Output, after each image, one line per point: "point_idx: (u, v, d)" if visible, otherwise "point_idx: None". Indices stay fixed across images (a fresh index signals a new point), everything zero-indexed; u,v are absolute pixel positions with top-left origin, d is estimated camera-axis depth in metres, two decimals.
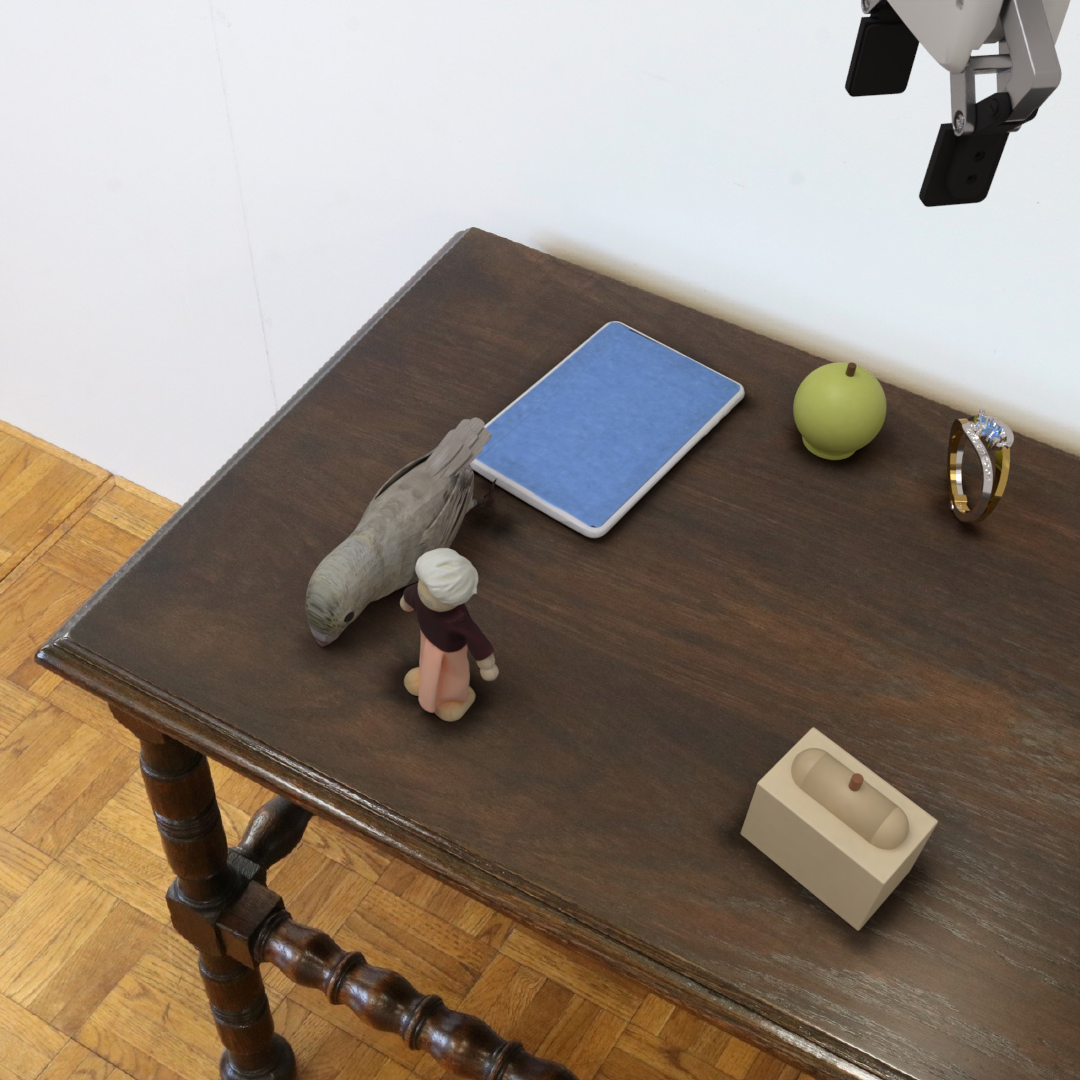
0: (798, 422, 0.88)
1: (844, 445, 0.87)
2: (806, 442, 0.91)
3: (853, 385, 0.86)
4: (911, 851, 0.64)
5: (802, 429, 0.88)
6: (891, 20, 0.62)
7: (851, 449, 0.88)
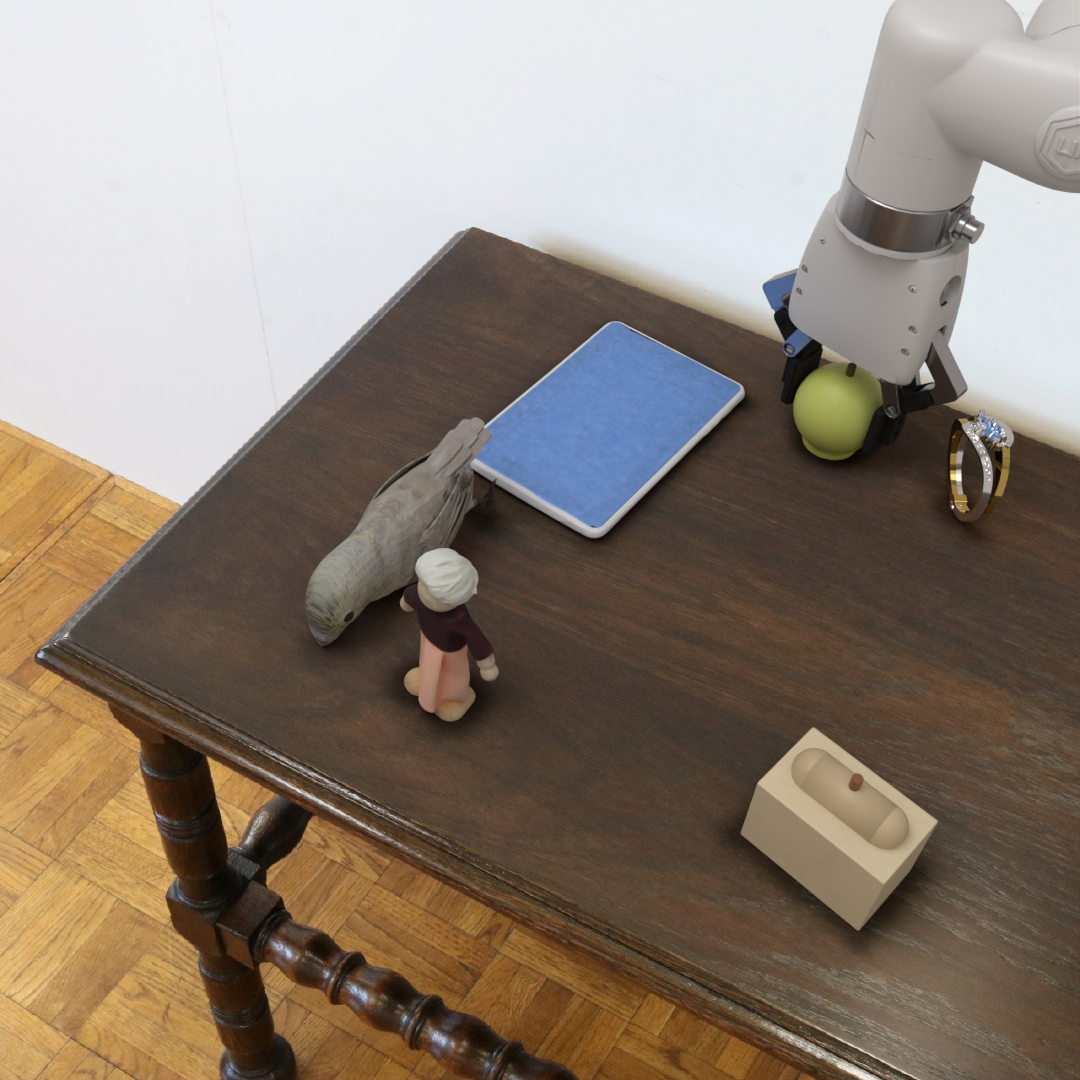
0: (798, 422, 0.88)
1: (844, 445, 0.87)
2: (806, 442, 0.91)
3: (853, 385, 0.86)
4: (911, 851, 0.64)
5: (802, 429, 0.88)
6: (807, 354, 0.88)
7: (851, 449, 0.88)
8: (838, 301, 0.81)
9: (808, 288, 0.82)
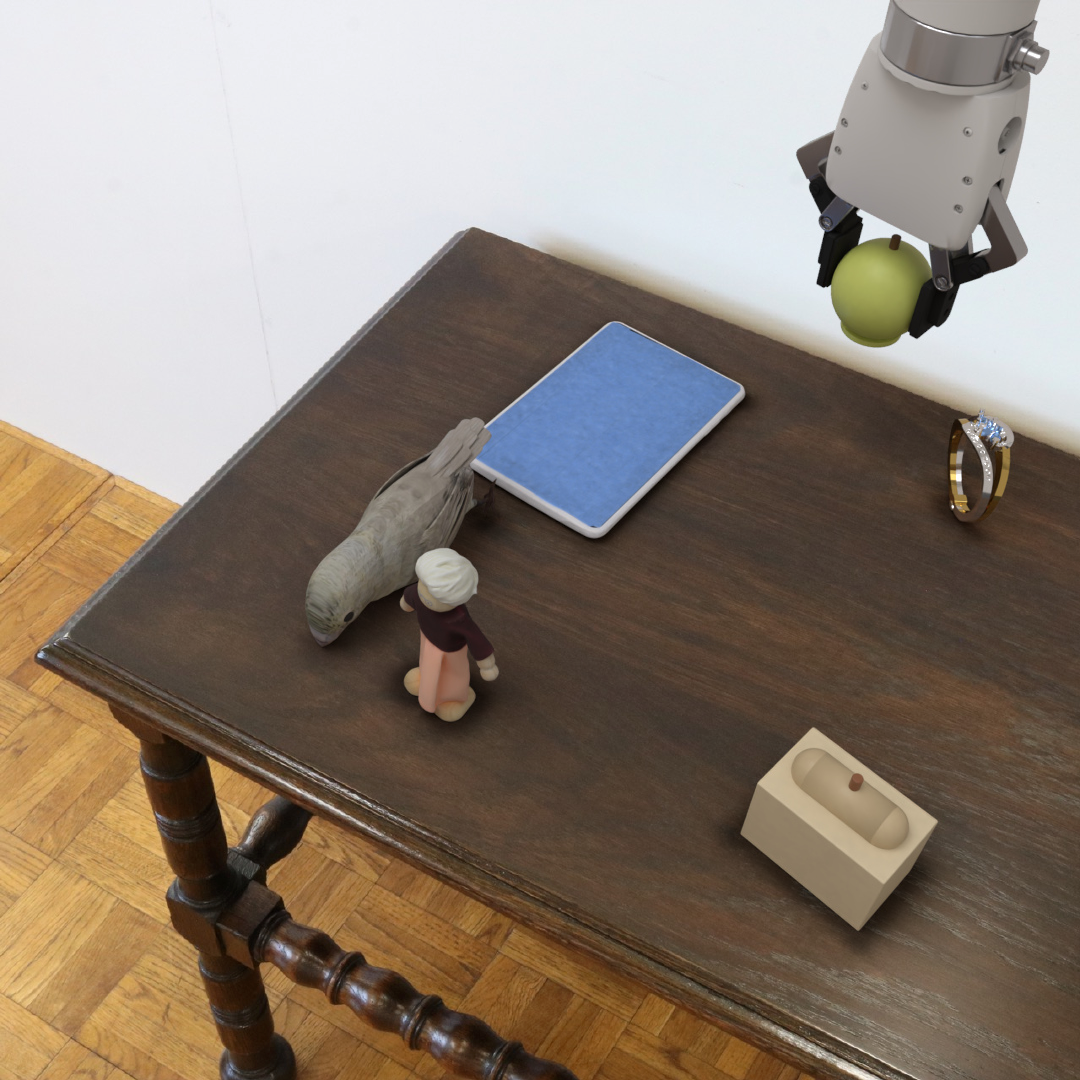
0: (836, 304, 0.80)
1: (888, 327, 0.79)
2: (845, 329, 0.82)
3: (897, 259, 0.78)
4: (911, 851, 0.64)
5: (842, 312, 0.80)
6: (846, 229, 0.80)
7: (896, 332, 0.80)
8: (882, 156, 0.72)
9: (848, 145, 0.74)
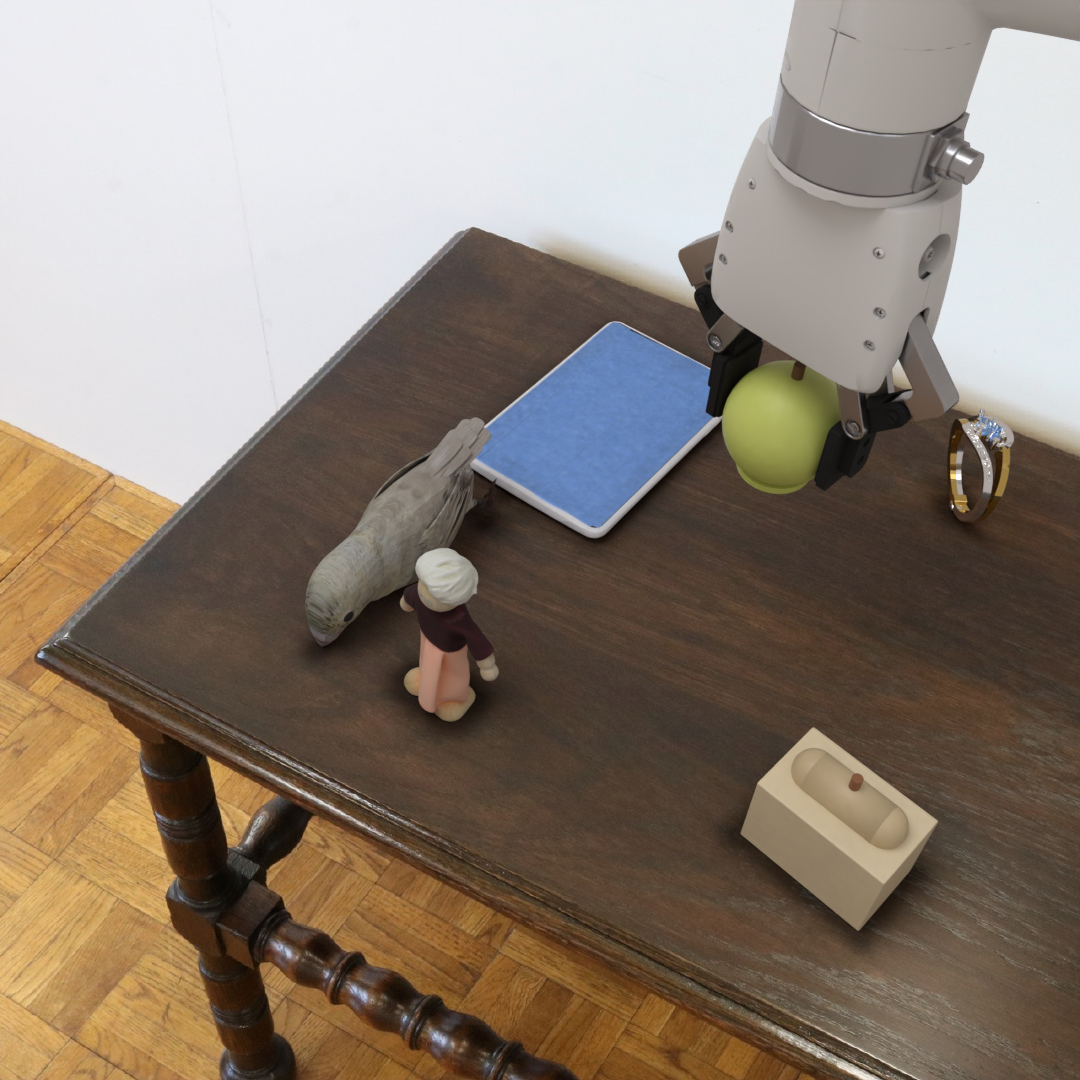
0: (727, 442, 0.64)
1: (789, 475, 0.63)
2: (741, 469, 0.66)
3: (801, 392, 0.62)
4: (911, 851, 0.64)
5: (733, 452, 0.64)
6: (741, 349, 0.64)
7: (800, 480, 0.64)
8: (775, 272, 0.56)
9: (735, 254, 0.58)
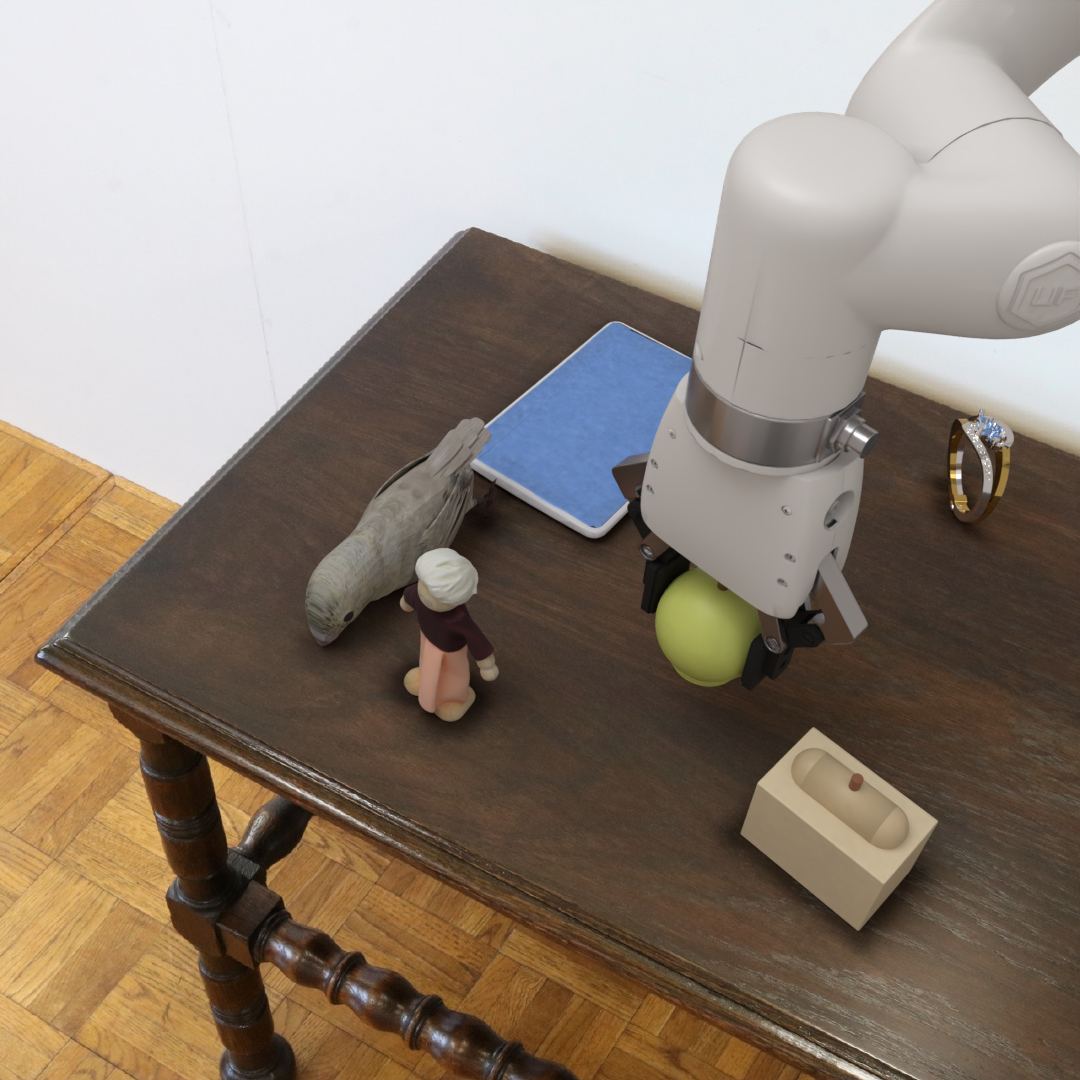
0: (660, 642, 0.69)
1: (717, 676, 0.67)
2: None
3: (726, 603, 0.66)
4: (911, 851, 0.64)
5: (665, 652, 0.68)
6: (671, 556, 0.68)
7: (727, 679, 0.68)
8: (696, 510, 0.61)
9: (660, 488, 0.62)
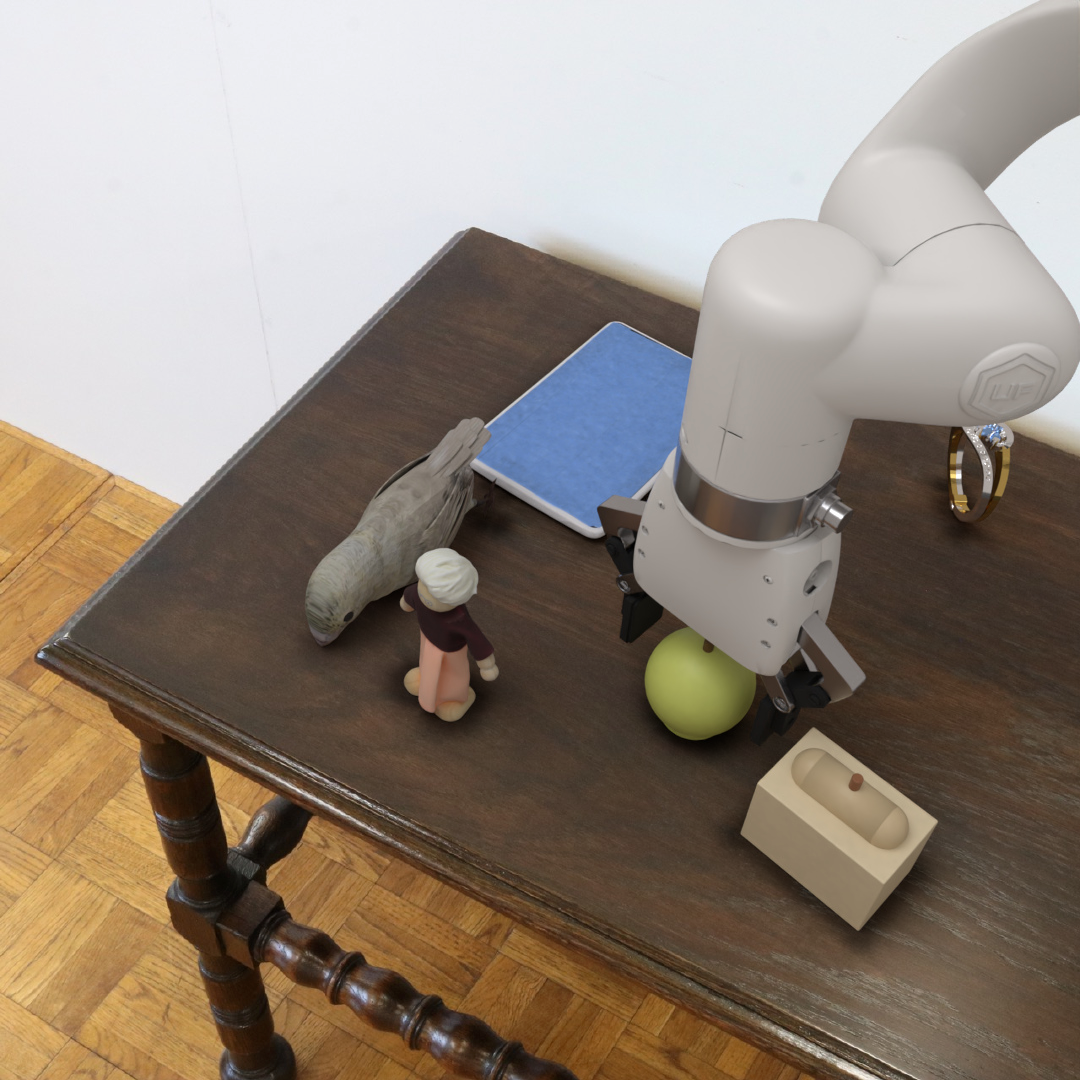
0: (649, 699, 0.73)
1: (702, 732, 0.71)
2: None
3: (711, 664, 0.70)
4: (911, 851, 0.64)
5: (654, 709, 0.72)
6: None
7: (712, 735, 0.72)
8: (685, 575, 0.64)
9: (651, 552, 0.66)
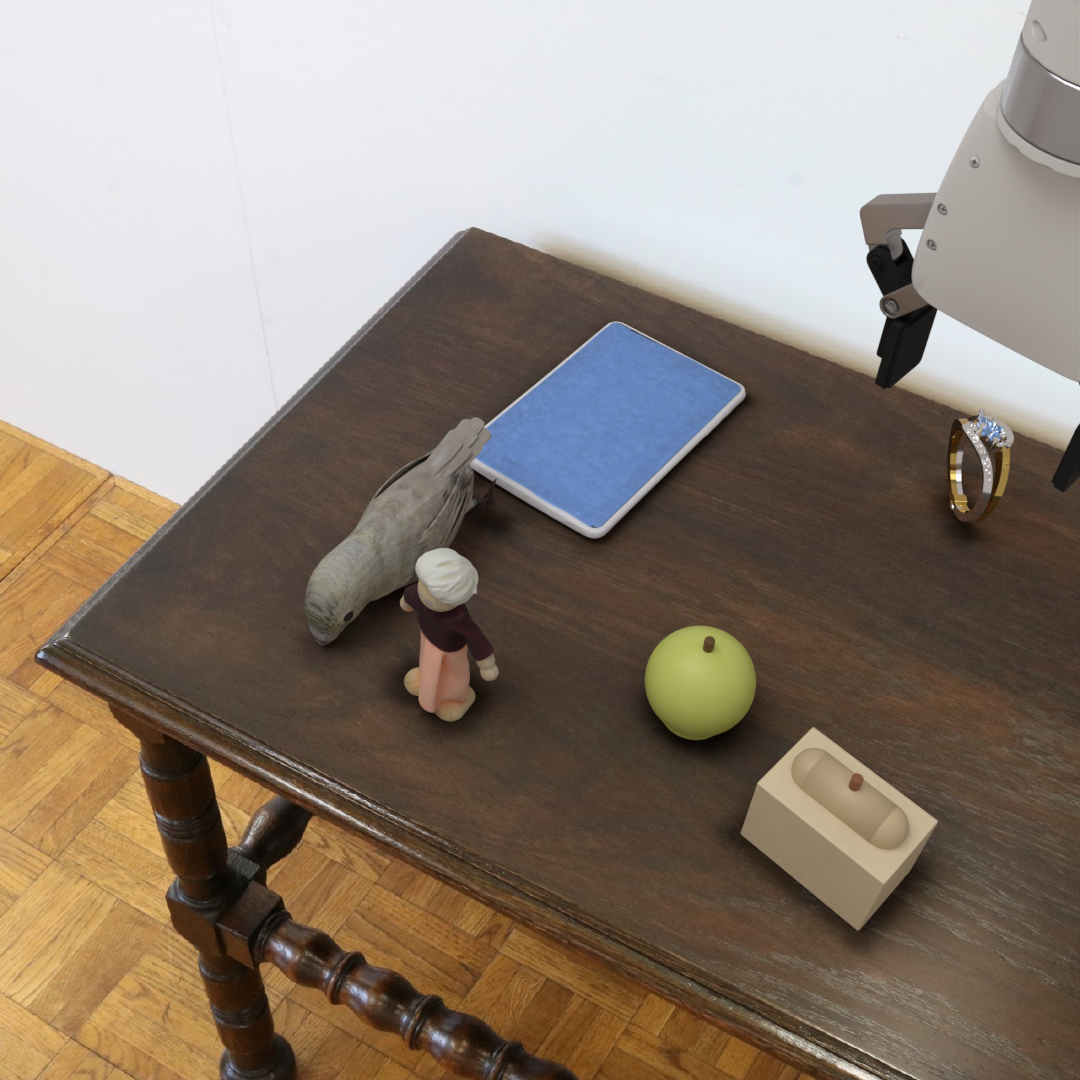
0: (649, 699, 0.73)
1: (702, 732, 0.71)
2: None
3: (711, 664, 0.70)
4: (911, 851, 0.64)
5: (654, 709, 0.72)
6: (917, 314, 0.60)
7: (712, 735, 0.72)
8: (997, 257, 0.52)
9: (947, 239, 0.54)
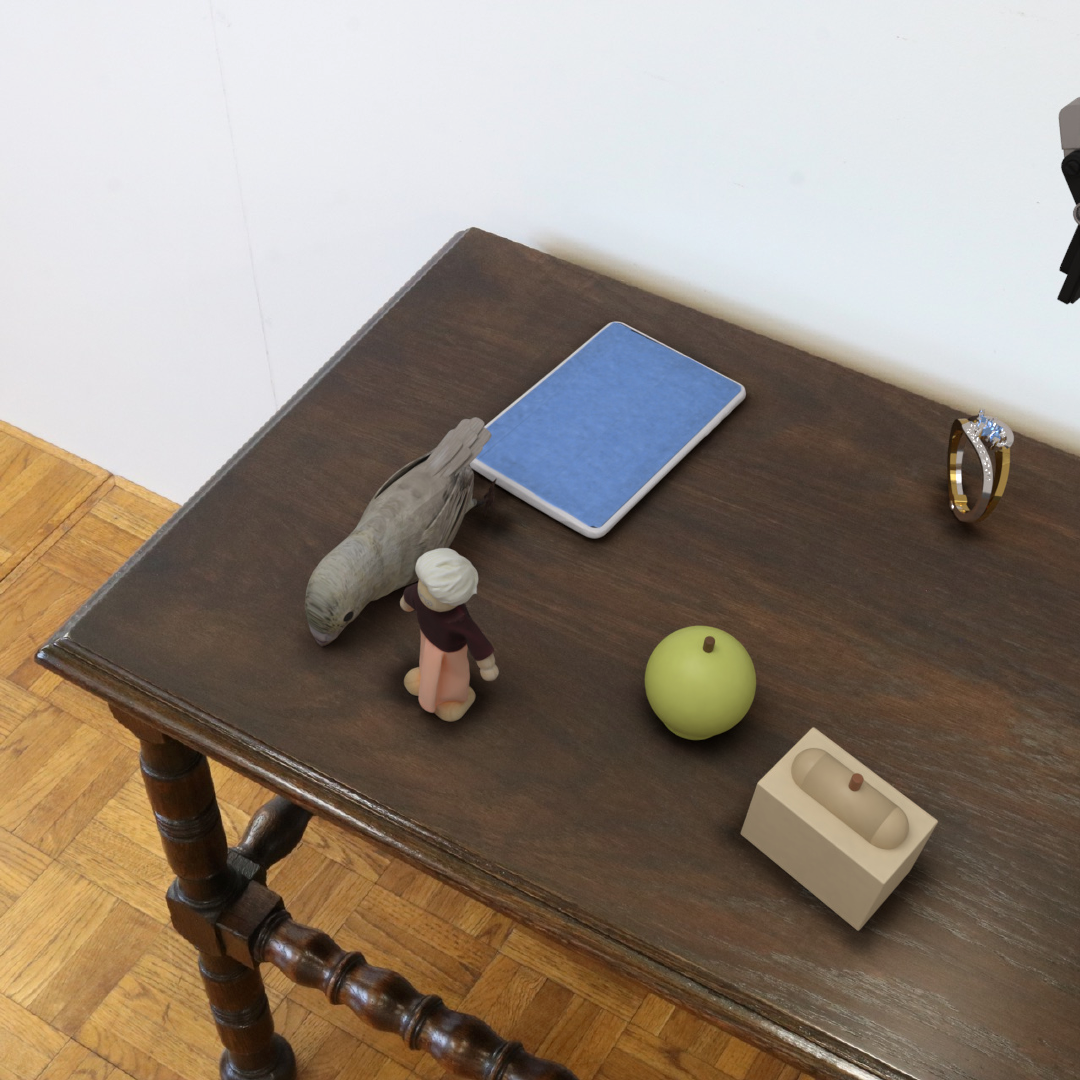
0: (649, 699, 0.73)
1: (702, 732, 0.71)
2: None
3: (711, 664, 0.70)
4: (911, 851, 0.64)
5: (654, 709, 0.72)
6: None
7: (712, 735, 0.72)
8: None
9: None
